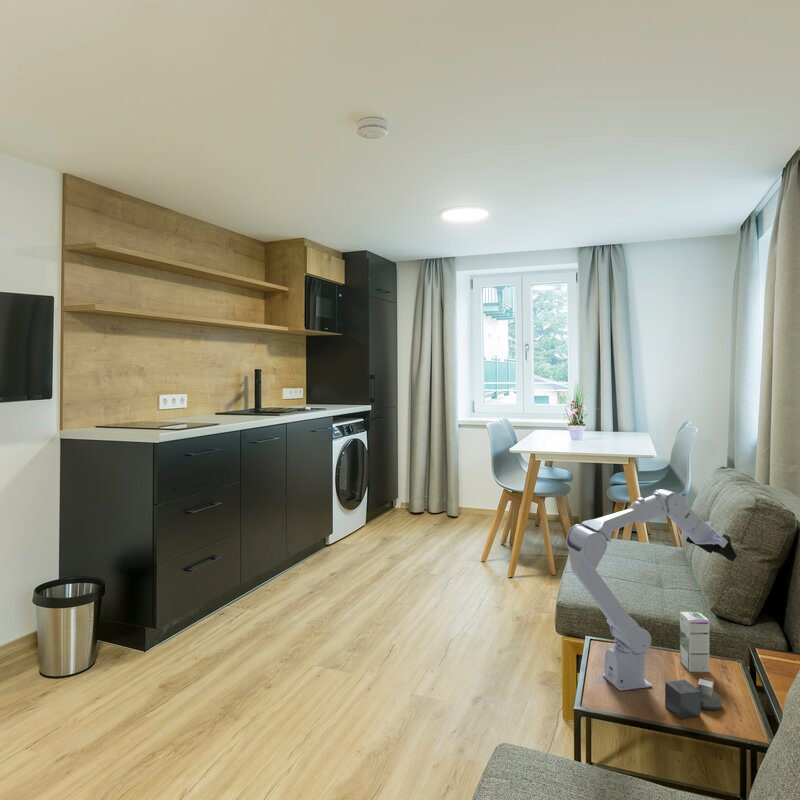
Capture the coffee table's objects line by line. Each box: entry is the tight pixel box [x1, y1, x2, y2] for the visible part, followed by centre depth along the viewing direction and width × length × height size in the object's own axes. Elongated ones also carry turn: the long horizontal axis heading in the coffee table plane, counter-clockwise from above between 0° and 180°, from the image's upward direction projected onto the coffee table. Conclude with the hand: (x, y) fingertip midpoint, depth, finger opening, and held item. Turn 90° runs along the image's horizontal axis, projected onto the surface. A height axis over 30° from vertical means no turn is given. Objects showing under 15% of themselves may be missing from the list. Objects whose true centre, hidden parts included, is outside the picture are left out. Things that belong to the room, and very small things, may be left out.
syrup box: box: [679, 611, 710, 673], centre depth 158 cm, size 6×6×14 cm
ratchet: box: [696, 676, 723, 712], centre depth 144 cm, size 14×7×5 cm, turn 147°
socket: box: [664, 679, 702, 720], centre depth 137 cm, size 5×5×6 cm
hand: (722, 554), depth 156 cm, fingers open, 7 cm apart
